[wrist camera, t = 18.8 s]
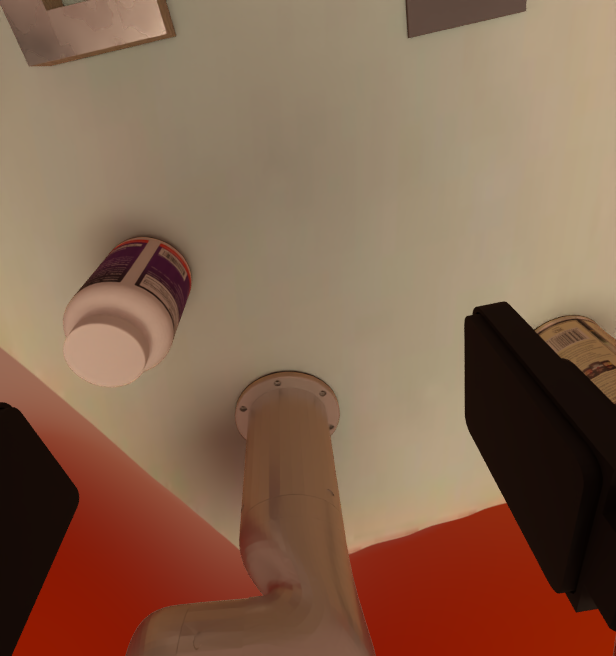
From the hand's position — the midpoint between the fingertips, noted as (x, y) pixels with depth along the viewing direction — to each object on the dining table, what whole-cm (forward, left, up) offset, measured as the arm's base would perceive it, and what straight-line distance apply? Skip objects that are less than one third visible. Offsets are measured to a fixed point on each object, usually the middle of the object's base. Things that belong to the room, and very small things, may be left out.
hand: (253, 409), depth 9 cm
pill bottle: (-9, +14, -34) cm, 37 cm away
